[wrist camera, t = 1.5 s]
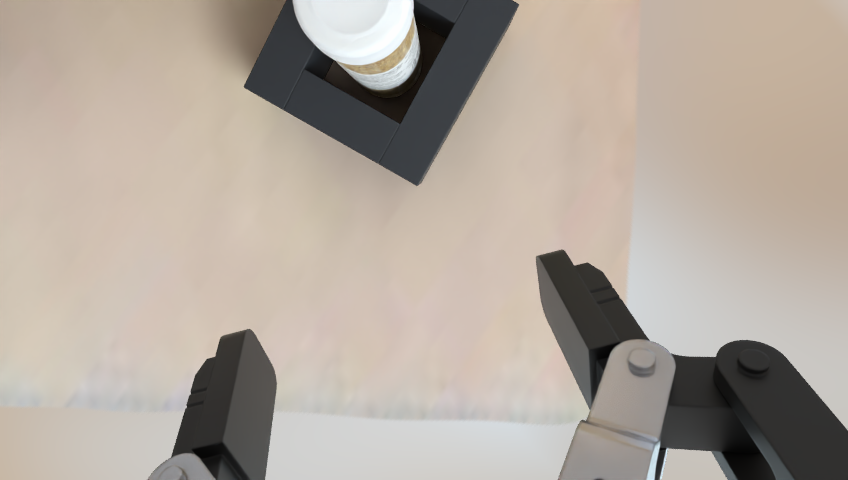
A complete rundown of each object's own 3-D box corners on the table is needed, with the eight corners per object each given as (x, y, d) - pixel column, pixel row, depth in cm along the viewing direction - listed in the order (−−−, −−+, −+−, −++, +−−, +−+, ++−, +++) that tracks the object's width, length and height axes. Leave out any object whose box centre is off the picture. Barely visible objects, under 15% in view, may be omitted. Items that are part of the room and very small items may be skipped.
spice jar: (362, 14, 33) (307, -90, 19) (433, 36, 33) (426, -52, 19) (342, 87, 33) (275, 35, 20) (411, 109, 33) (390, 72, 20)
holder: (269, 97, 34) (243, 86, 29) (351, -66, 32) (336, -104, 28) (420, 183, 34) (417, 186, 30) (509, 26, 33) (519, 4, 28)
